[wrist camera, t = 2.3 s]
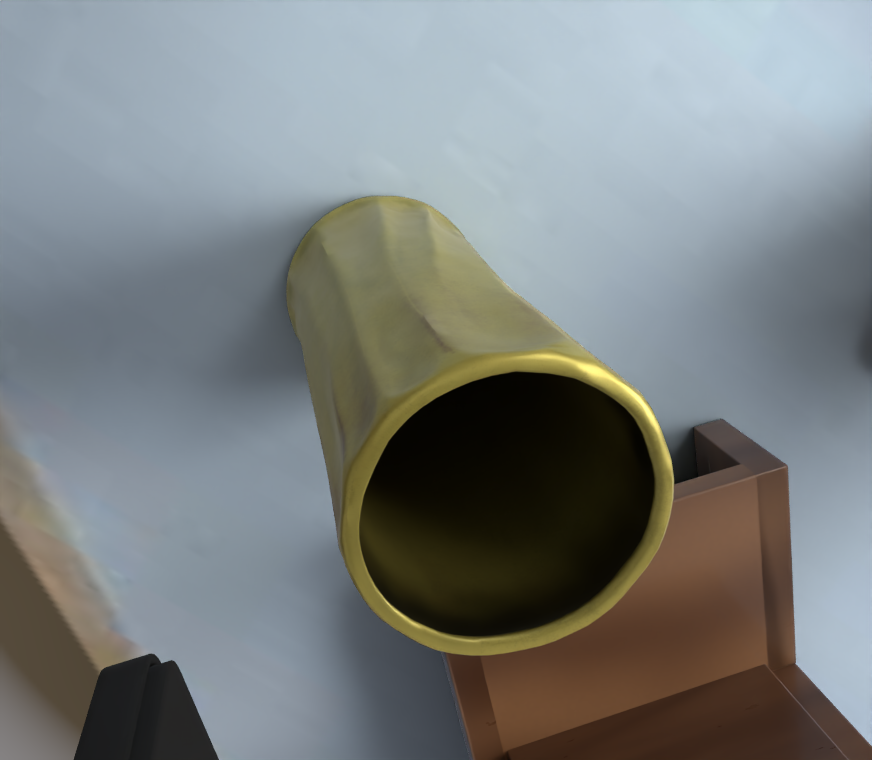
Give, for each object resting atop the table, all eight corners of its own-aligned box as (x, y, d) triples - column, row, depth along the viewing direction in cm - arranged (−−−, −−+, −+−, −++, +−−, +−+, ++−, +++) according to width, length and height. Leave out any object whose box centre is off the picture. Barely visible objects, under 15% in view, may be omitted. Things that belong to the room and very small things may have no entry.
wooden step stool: (403, 512, 28) (485, 769, 17) (722, 417, 29) (980, 602, 18) (490, 835, 34) (588, 1165, 24) (747, 746, 35) (948, 1020, 25)
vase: (501, 336, 26) (738, 584, 13) (334, 410, 26) (402, 741, 13) (437, 162, 24) (647, 248, 10) (251, 242, 23) (229, 432, 10)
